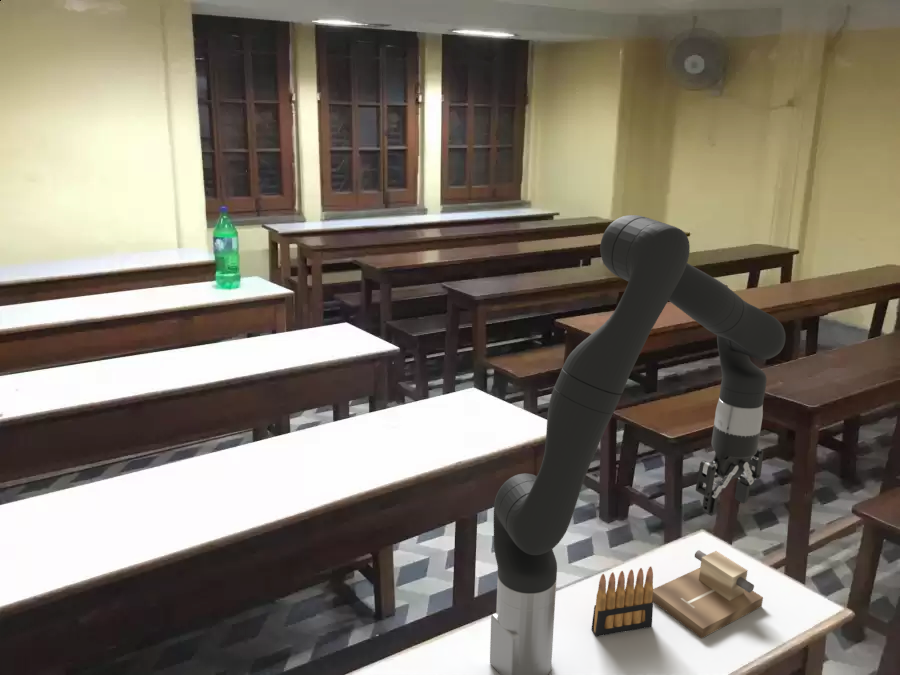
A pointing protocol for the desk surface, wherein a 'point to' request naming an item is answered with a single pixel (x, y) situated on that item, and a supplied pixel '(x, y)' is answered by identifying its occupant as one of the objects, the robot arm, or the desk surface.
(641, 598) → the ammunition clip
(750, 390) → the robot arm
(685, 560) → the desk surface
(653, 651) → the desk surface
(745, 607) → the walnut board
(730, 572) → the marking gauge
